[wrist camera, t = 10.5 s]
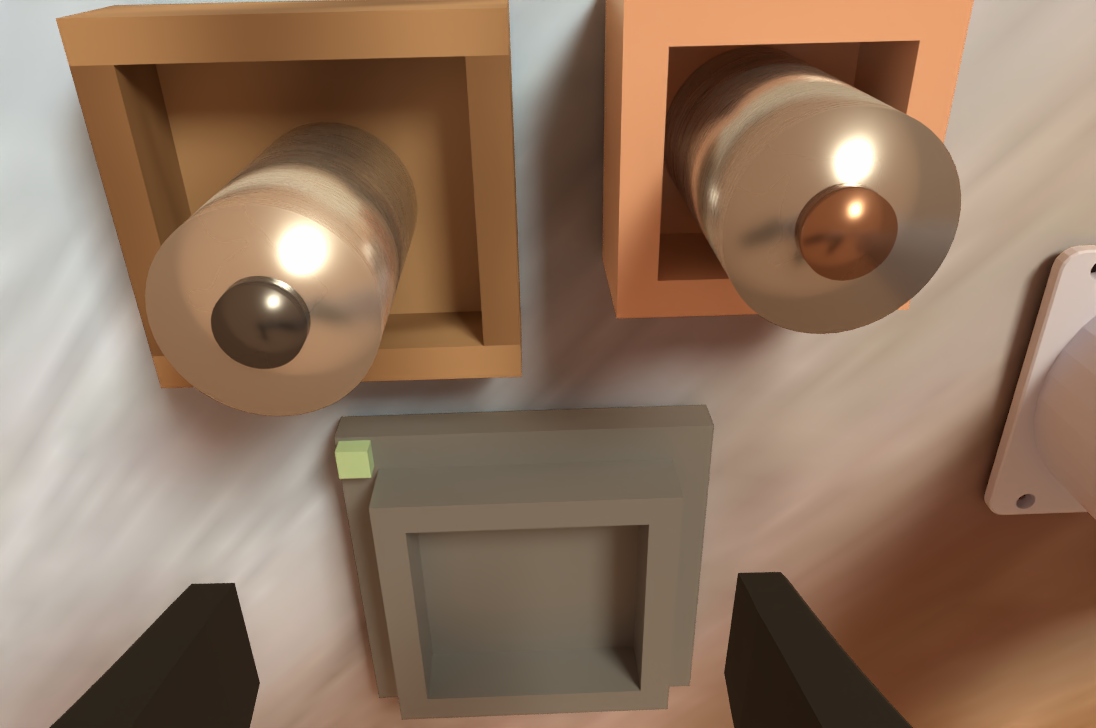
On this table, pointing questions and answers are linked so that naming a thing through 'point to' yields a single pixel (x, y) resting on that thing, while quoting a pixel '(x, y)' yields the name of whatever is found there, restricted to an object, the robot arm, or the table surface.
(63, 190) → the table surface
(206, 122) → the brown square tray
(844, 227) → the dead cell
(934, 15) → the orange square box
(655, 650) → the cradle
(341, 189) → the cell
